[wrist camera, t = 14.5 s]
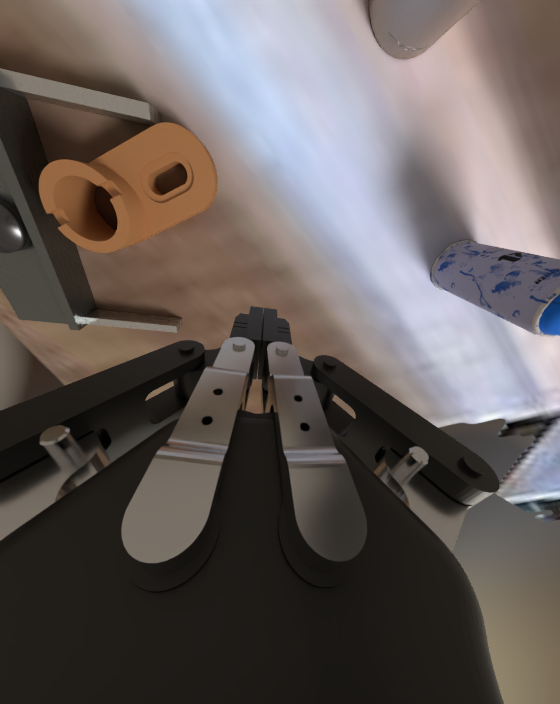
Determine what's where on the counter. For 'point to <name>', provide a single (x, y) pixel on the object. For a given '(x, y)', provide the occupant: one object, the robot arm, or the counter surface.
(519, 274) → the aerosol can
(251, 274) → the counter surface
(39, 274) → the deck mount
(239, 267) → the counter surface
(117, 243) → the bracket
